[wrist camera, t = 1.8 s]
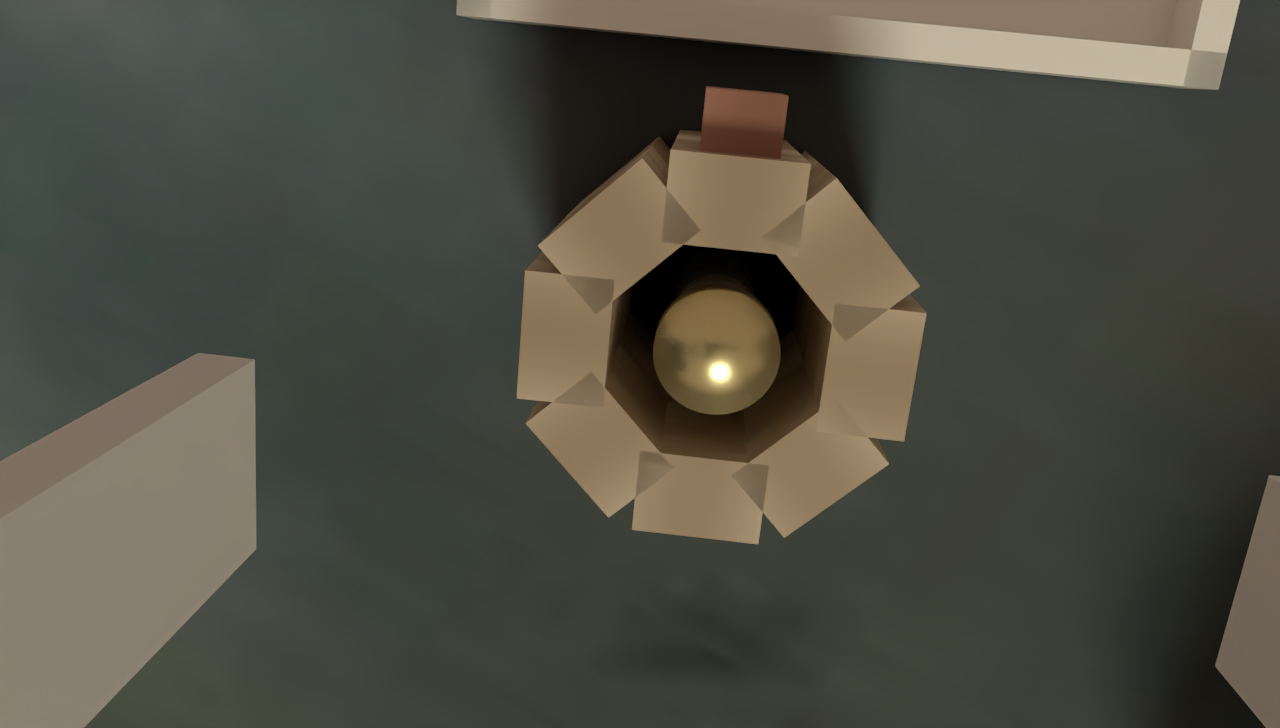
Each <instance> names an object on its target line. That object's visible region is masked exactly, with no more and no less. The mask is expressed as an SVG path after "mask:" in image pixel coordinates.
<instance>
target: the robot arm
mask: <svg viewBox="0 0 1280 728" xmlns="http://www.w3.org/2000/svg"><path fill="white" fill-rule="evenodd" d="M255 550H256V452H255V359H247V358H238V357H229V356H220V355H212V354H203V353H197V354H195V355H194V356H192V357H190V358H188V359H186V360H184V361H183V362H181V363H179V364H177V365H175V366H173V367H172V368H170V369H168V370H166V371H164V372H162V373H161V374H159V375H157V376H155V377H153V378H151V379H150V380H148V381H146V382H144V383H142V384H140V385H139V386H137V387H135V388H133V389H131V390H130V391H128V392H126V393H124V394H122V395H120V396H119V397H117V398H115V399H113V400H111V401H109V402H108V403H106V404H104V405H102V406H100V407H98V408H97V409H95V410H93V411H91V412H89V413H87V414H86V415H84V416H82V417H80V418H78V419H76V420H75V421H73V422H71V423H69V424H67V425H65V426H64V427H62V428H60V429H58V430H56V431H54V432H53V433H51V434H49V435H47V436H45V437H43V438H42V439H40V440H38V441H36V442H34V443H33V444H31V445H29V446H27V447H25V448H23V449H22V450H20V451H18V452H16V453H14V454H12V455H11V456H9V457H7V458H5V459H3V460H1V461H0V728H84V727H85V726H86V725H87V724H88V723H89V722H90V721H91V720H92V719H93V718H94V717H95V716H96V715H97V714H98V713H99V711H100V710H101V709H102V708H103V707H104V706H105V705H106V704H107V703H108V702H109V701H110V700H111V699H112V698H113V697H114V696H115V695H116V694H117V693H118V692H119V691H120V690H121V689H122V688H123V687H124V686H125V685H126V683H127V682H128V681H129V680H130V679H131V678H132V677H133V676H134V675H135V674H136V673H137V672H138V671H139V670H140V669H141V668H142V667H143V666H144V665H145V664H146V663H147V662H148V661H149V660H150V659H151V658H152V657H153V655H154V654H155V653H156V652H157V651H158V650H159V649H160V648H161V647H162V646H163V645H164V644H165V643H166V642H167V641H168V640H169V639H170V638H171V637H172V636H173V635H174V634H175V633H176V632H177V631H178V630H179V629H180V627H181V626H182V625H183V624H184V623H185V622H186V621H187V620H188V619H189V618H190V617H191V616H192V615H193V614H194V613H195V612H196V611H197V610H198V609H199V608H200V607H201V606H202V605H203V604H204V603H205V602H206V600H207V599H208V598H209V597H210V596H211V595H212V594H213V593H214V592H215V591H216V590H217V589H218V588H219V587H220V586H221V585H222V584H223V583H224V582H225V581H226V580H227V579H228V578H229V577H230V576H231V575H232V574H233V572H234V571H235V570H236V569H237V568H238V567H239V566H240V565H241V564H242V563H243V562H244V561H245V560H246V559H247V558H248V557H249V556H250V555H251V554H252V553H253V552H254V551H255ZM1215 667H1216V668H1217V669H1218V670H1219V672H1220V673H1221V674H1222V675H1223V676H1224V678H1225V679H1226V680H1227V681H1228V683H1229V684H1230V685H1231V686H1232V687H1233V689H1234V690H1235V691H1236V692H1237V693H1238V695H1239V696H1240V697H1241V698H1242V699H1243V701H1244V702H1245V703H1246V704H1247V705H1248V707H1249V708H1250V709H1251V710H1252V712H1253V713H1254V714H1255V715H1256V716H1257V718H1258V719H1259V720H1260V721H1261V722H1262V724H1263V725H1264V726H1265V727H1266V728H1280V476H1273V475H1269V477H1268V480H1267V484H1266V487H1265V491H1264V495H1263V498H1262V502H1261V505H1260V509H1259V512H1258V516H1257V519H1256V523H1255V526H1254V530H1253V533H1252V537H1251V540H1250V544H1249V547H1248V551H1247V554H1246V558H1245V561H1244V565H1243V569H1242V572H1241V576H1240V579H1239V583H1238V586H1237V590H1236V593H1235V597H1234V600H1233V604H1232V607H1231V611H1230V614H1229V618H1228V621H1227V625H1226V628H1225V632H1224V636H1223V639H1222V643H1221V646H1220V650H1219V653H1218V657H1217V660H1216V664H1215Z"/></svg>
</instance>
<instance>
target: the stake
mask: <svg viewBox="0 0 1280 728" xmlns="http://www.w3.org/2000/svg"><path fill="white" fill-rule="evenodd" d="M780 356H781V350H780V342H779V337H778V333H777V329H776V326H775V323H774V320H773V318H772V316H771V314H770V313H769V311H768V310H767V308H766V307H765V306H764V305H763V304H762V303H761V302H760V301H759V300H758V299H757V298H756V297H755V292H754V287H753V282H752V277H751V274H750V272H749V270H748V268H747V267H746V265H745V264H744V263H743V262H742V261H741V260H740V259H739V258H738V257H736V256H735V255H733V254H731V253H728V252H725V251H720V250H711V251H706V252H702V253H700V254H698V255H696V256H694V257H693V258H692V259H690V260H689V261H688V262H687V263H686V265H685V266H684V267H683V269H682V271H681V273H680V276H679V279H678V285H677V292H676V298H675V300H674V301H673V302H672V303H671V304H670V305H669V306H668V308H667V309H666V310H665V312H664V313H663V315H662V317H661V319H660V321H659V324H658V327H657V330H656V335H655V340H654V346H653V361H654V367H655V371H656V373H657V376H658V379H659V380H660V382H661V384H662V386H663V387H664V388H665V390H666V391H667V392H668V393H669V395H670V396H671V397H672V398H673V399H675V400H676V401H677V402H678V403H680V404H682V405H683V406H685V407H687V408H689V409H691V410H693V411H697V412H700V413H704V414H712V415H721V414H729V413H734V412H737V411H740V410H742V409H744V408H747V407H749V406H750V405H752V404H753V403H755V402H756V401H757V400H759V399H760V398H761V397H762V396H763V395H764V394H765V393H766V392H767V391H768V389H769V388H770V386H771V385H772V383H773V381H774V379H775V377H776V375H777V372H778V369H779V364H780Z"/></svg>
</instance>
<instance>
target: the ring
mask: <svg viewBox="0 0 1280 728" xmlns="http://www.w3.org/2000/svg"><path fill="white" fill-rule="evenodd" d="M788 99H789V96H788V95H785V94H781V93H771V92H761V91H751V90H741V89H731V88H721V87H711V86H706V94H705V103H704V112H703V122H702V131H691V130H681V129H680V131H679V134H678V136H677V138H676V140H675V142H674V144H673V146H672V148H671V150H670V149H669V147H668V146H667V145H666V144H665V142H664V141H663V140H662V139H661V137H660V136H659V137H658V138H656V139H655V140H654V141H653V142H652V143H650V144H649V145H648V146H647V147H646V148H644V149H643V150H642V151H641V152H640V153H638V154H637V155H636V156H635V157H634V158H632V159H631V160H630V161H629V162H628V163H626V164H625V165H624V166H623V167H622V168H620V169H619V170H618V171H617V172H616V173H615V174H613V175H612V176H611V177H610V178H609V179H607V180H606V181H605V182H604V183H603V184H601V185H600V186H599V187H598V188H597V189H595V190H594V191H593V192H592V193H591V194H589V195H588V196H587V197H586V198H585V199H583V200H582V201H581V202H580V203H579V204H578V205H577V206H576V207H575V208H574V209H573V210H572V211H571V212H570V213H569V214H568V215H567V216H566V217H565V218H564V219H563V220H562V221H561V222H560V223H559V224H558V225H557V226H556V227H555V228H554V229H553V230H552V231H551V232H550V234H549V235H548V236H547V237H546V238H545V239H544V240H543V241H542V242H541V243H540V244H539V245H538V247H539V248H540V249H541V250H542V253H541V254H540V255H539V256H538V257H537V258H536V259H535V260H534V261H533V262H532V263H531V265H530V266H529V267H528V268H527V269H526V270H525V280H524V295H523V310H522V325H521V341H520V356H519V371H518V386H517V398H519V399H528V400H537V402H536V404H535V406H534V408H533V410H532V412H531V414H530V415H529V417H528V419H527V421H526V424H527V426H528V427H529V428H530V429H531V430H532V431H533V432H534V434H535V435H536V436H537V437H538V438H539V439H540V440H541V441H542V443H543V444H544V445H545V446H546V447H547V448H548V449H549V451H550V452H551V453H552V454H553V455H554V456H555V457H556V459H557V460H558V461H559V462H560V463H561V464H562V465H563V467H564V468H565V469H566V470H567V471H568V472H569V473H570V474H571V476H572V477H573V478H574V479H575V480H576V481H577V482H578V484H579V485H580V486H581V487H582V488H583V489H584V490H585V492H586V493H587V494H588V495H589V496H590V497H591V498H592V499H593V501H594V502H595V503H596V504H597V505H598V506H599V507H600V509H601V510H602V511H603V512H604V513H605V514H606V515H607V517H608V518H609V517H610V516H611V515H613V514H614V513H615V512H617V511H618V510H619V509H621V508H622V507H623V506H625V505H626V504H627V503H629V502H630V501H631V500H633V499H634V498H635V504H634V514H633V524H632V530H639V531H647V532H656V533H665V534H673V535H682V536H691V537H699V538H708V539H717V540H725V541H734V542H743V543H751V544H758V543H759V535H760V528H761V521H762V514H763V513H764V514H765V516H766V517H767V518H768V519H769V520H770V522H771V523H772V524H773V525H774V526H775V527H776V529H777V530H778V531H779V532H780V533H781V535H782V536H783V537H784V538H785V537H786V536H788V535H789V534H790V533H792V532H793V531H795V530H796V529H798V528H799V527H800V526H802V525H803V524H805V523H806V522H807V521H809V520H810V519H812V518H813V517H815V516H816V515H817V514H819V513H820V512H822V511H823V510H825V509H826V508H827V507H829V506H830V505H832V504H833V503H835V502H836V501H837V500H839V499H840V498H842V497H843V496H844V495H846V494H847V493H849V492H850V491H852V490H853V489H854V488H856V487H857V486H859V485H860V484H862V483H863V482H864V481H866V480H867V479H869V478H870V477H872V476H873V475H874V474H876V473H877V472H879V471H880V470H881V469H883V468H884V467H886V466H887V465H889V462H888V460H887V458H886V456H885V454H884V451H883V449H882V447H881V445H880V443H879V440H878V439H887V440H896V441H904V438H905V433H906V427H907V421H908V416H909V410H910V404H911V399H912V393H913V387H914V382H915V376H916V370H917V365H918V359H919V353H920V348H921V342H922V336H923V331H924V325H925V319H926V314H927V313H926V312H925V311H924V310H923V309H922V308H921V306H920V305H919V304H918V303H917V302H916V301H915V300H914V299H913V297H912V296H911V295H910V293H911V292H913V291H914V290H915V289H917V288H918V287H920V285H919V284H918V283H917V282H916V280H915V279H914V278H913V276H912V275H911V274H910V273H909V271H908V270H907V269H906V267H905V266H904V265H903V263H902V262H901V261H900V260H899V258H898V257H897V256H896V254H895V253H894V252H893V250H892V249H891V248H890V247H889V245H888V244H887V243H886V241H885V240H884V239H883V237H882V236H881V235H880V234H879V232H878V231H877V230H876V228H875V227H874V226H873V224H872V223H871V222H870V221H869V219H868V218H867V217H866V215H865V214H864V213H863V211H862V210H861V209H860V208H859V206H858V205H857V204H856V202H855V201H854V200H853V198H852V197H851V196H850V195H849V193H848V192H847V191H846V189H845V188H844V187H843V185H842V184H841V183H840V182H839V180H838V179H837V178H836V177H835V176H834V175H833V174H831V173H830V172H829V171H828V170H827V169H826V168H824V167H823V166H822V165H821V164H820V163H819V162H817V161H816V160H815V159H814V158H813V157H812V156H810V155H809V154H808V153H807V152H806V151H804V152H803V153H802V154H800V153H799V152H798V151H797V150H796V149H795V148H794V147H792V146H791V145H790V144H789V143H788V142H787V141H786V140H783V137H784V129H785V122H786V114H787V106H788ZM682 245H692V246H702V247H711V248H721V249H730V250H740V251H749V252H759V253H768V254H776V255H777V256H778V258H779V259H780V260H781V261H782V263H783V264H784V265H785V266H786V268H787V269H788V270H789V271H790V273H791V274H792V275H793V277H794V278H795V279H796V280H797V282H798V283H799V289H798V296H797V303H796V310H795V318H794V325H793V330H791V331H790V332H789V333H787V334H786V335H785V336H783V337H782V338H781V339H779V342H780V350H781V356H780V364H779V369H778V372H777V375H776V377H775V379H774V381H773V383H772V385H771V386H770V388H769V389H768V391H767V392H766V393H765V394H764V395H763V396H762V397H761V398H760V399H759V400H757V401H756V402H755V403H753V404H752V405H750V406H749V407H747V408H744V409H742V410H740V411H737V412H734V413H729V414H721V415H712V414H704V413H700V412H697V411H693V410H691V409H689V408H687V407H685V406H683V405H682V404H680V403H678V402H677V401H676V400H675V399H673V398H672V397H671V396H670V395H669V393H668V392H667V391H666V390H665V388H664V387H663V386H662V384H661V382H660V380H659V379H658V376H657V373H656V371H655V367H654V361H653V346H654V340H653V339H652V337H651V336H650V335H649V334H648V333H647V331H646V330H645V329H644V328H643V327H642V326H641V324H640V323H639V322H638V321H637V320H636V318H635V317H634V316H633V315H632V314H631V312H630V306H631V295H632V285H634V284H635V283H636V282H637V281H639V280H640V279H641V278H642V277H644V276H645V275H646V274H647V273H648V272H650V271H651V270H652V269H653V268H655V267H656V266H657V265H658V264H660V263H661V262H662V261H663V260H665V259H666V258H667V257H668V256H670V255H671V254H672V253H673V252H675V251H676V250H677V249H678V248H680V247H681V246H682Z"/></svg>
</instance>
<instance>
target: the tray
mask: <svg viewBox="0 0 1280 728" xmlns="http://www.w3.org/2000/svg"><path fill="white" fill-rule="evenodd" d="M1239 2H1240V0H457V14H456V15H459V16H464V17H468V18H473V19H481V20H491V21H501V22H512V23H522V24H532V25H542V26H552V27H562V28H573V29H583V30H593V31H603V32H613V33H623V34H634V35H644V36H654V37H664V38H674V39H685V40H695V41H705V42H715V43H725V44H735V45H746V46H756V47H766V48H776V49H786V50H797V51H807V52H817V53H827V54H837V55H847V56H858V57H868V58H878V59H888V60H898V61H909V62H919V63H929V64H939V65H949V66H959V67H970V68H980V69H990V70H1000V71H1010V72H1020V73H1031V74H1041V75H1051V76H1061V77H1071V78H1082V79H1092V80H1102V81H1112V82H1122V83H1132V84H1143V85H1153V86H1163V87H1173V88H1188V89H1213V90H1219V85H1220V81H1221V77H1222V73H1223V69H1224V65H1225V61H1226V56H1227V52H1228V48H1229V44H1230V40H1231V36H1232V31H1233V27H1234V23H1235V19H1236V15H1237V11H1238V7H1239Z"/></svg>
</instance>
